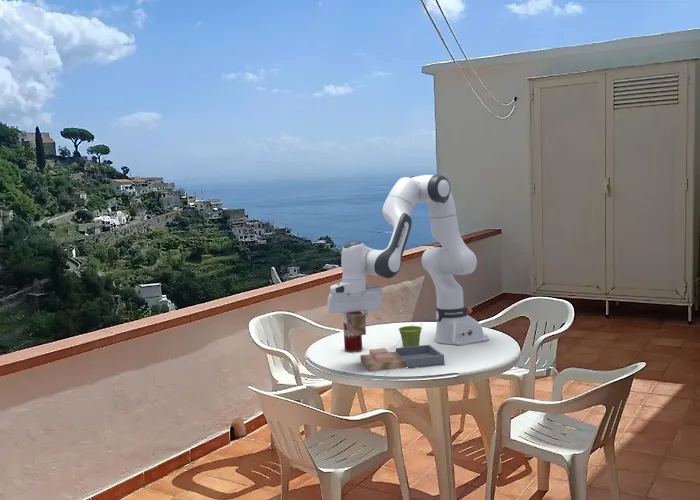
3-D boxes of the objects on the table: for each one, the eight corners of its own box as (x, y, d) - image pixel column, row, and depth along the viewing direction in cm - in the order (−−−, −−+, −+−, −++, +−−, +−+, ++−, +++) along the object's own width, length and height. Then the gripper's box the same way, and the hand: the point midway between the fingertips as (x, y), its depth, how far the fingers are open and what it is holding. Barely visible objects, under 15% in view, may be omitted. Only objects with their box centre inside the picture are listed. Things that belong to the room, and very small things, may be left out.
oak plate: (396, 358, 250) (395, 351, 249) (406, 367, 236) (406, 360, 236) (360, 361, 247) (360, 355, 247) (368, 371, 233) (368, 364, 233)
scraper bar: (357, 327, 247) (357, 308, 246) (365, 334, 233) (365, 315, 232) (346, 328, 246) (345, 309, 245) (353, 335, 232) (352, 316, 232)
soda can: (360, 352, 260) (359, 323, 259) (343, 352, 262) (341, 323, 261) (363, 348, 268) (362, 319, 266) (346, 347, 269) (345, 319, 268)
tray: (429, 353, 254) (429, 344, 253) (444, 364, 237) (444, 355, 237) (395, 356, 251) (395, 348, 251) (408, 368, 235) (408, 359, 234)
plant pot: (407, 354, 255) (406, 332, 254) (395, 349, 263) (394, 328, 262) (427, 350, 259) (426, 328, 258) (414, 345, 267) (413, 324, 267)
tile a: (384, 353, 248) (384, 348, 248) (388, 357, 242) (388, 351, 242) (369, 354, 247) (369, 349, 247) (373, 358, 241) (372, 353, 241)
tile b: (389, 357, 241) (389, 352, 241) (393, 361, 235) (393, 356, 235) (373, 359, 240) (373, 354, 240) (377, 363, 234) (377, 358, 234)
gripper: (379, 283, 243) (380, 319, 244) (325, 286, 239) (327, 323, 240) (383, 285, 237) (385, 323, 238) (328, 289, 233) (329, 327, 234)
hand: (355, 323), depth 239 cm, fingers closed on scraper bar, 4 cm apart
